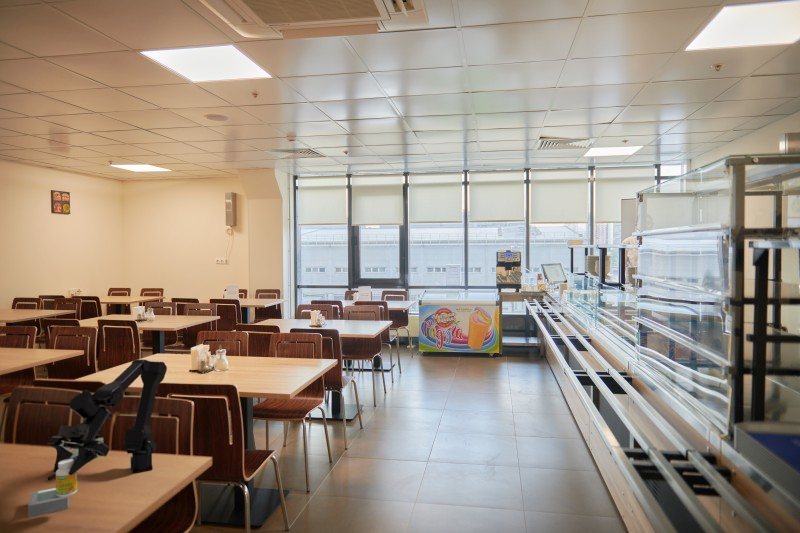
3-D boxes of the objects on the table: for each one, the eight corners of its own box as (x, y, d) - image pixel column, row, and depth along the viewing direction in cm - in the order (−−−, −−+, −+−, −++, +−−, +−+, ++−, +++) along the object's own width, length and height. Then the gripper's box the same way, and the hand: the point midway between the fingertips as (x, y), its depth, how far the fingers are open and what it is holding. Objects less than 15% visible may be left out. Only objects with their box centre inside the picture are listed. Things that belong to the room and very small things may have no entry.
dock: (69, 495, 168) (69, 485, 168) (67, 508, 159) (67, 497, 159) (32, 503, 163) (31, 492, 163) (28, 517, 154) (28, 506, 154)
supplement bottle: (55, 498, 152) (54, 466, 152) (57, 491, 157) (56, 459, 156) (76, 494, 155) (75, 462, 154) (78, 487, 159) (77, 456, 159)
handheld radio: (105, 454, 203) (53, 482, 178) (98, 454, 203) (44, 482, 178) (104, 437, 202) (51, 463, 178) (97, 437, 203) (43, 463, 178)
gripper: (51, 410, 161) (18, 459, 151) (100, 415, 156) (69, 466, 146) (74, 426, 169) (44, 474, 159) (121, 431, 164) (93, 480, 154)
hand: (62, 473), depth 154 cm, fingers closed on supplement bottle, 5 cm apart
